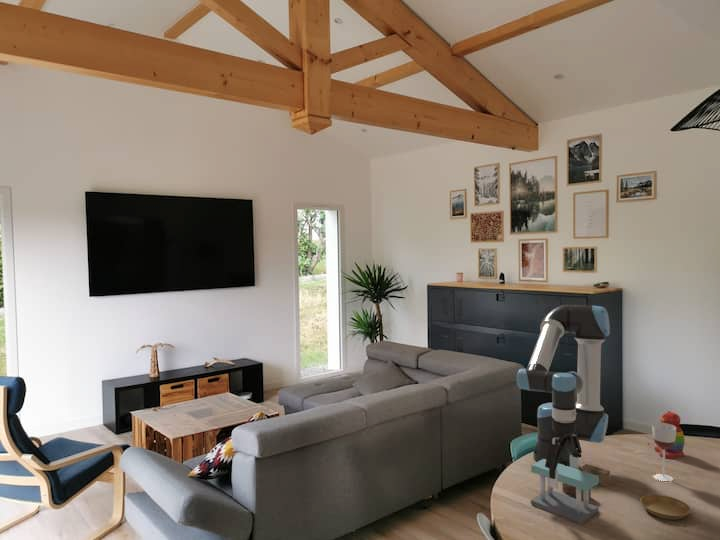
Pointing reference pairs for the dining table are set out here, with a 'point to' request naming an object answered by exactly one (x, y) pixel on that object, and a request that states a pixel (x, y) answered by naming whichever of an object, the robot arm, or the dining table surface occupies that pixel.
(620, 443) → the dining table surface
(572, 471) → the shelf board
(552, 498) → the peg stand
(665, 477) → the wineglass
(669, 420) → the stacking bear
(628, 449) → the dining table surface
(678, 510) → the plant saucer
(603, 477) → the blocks
